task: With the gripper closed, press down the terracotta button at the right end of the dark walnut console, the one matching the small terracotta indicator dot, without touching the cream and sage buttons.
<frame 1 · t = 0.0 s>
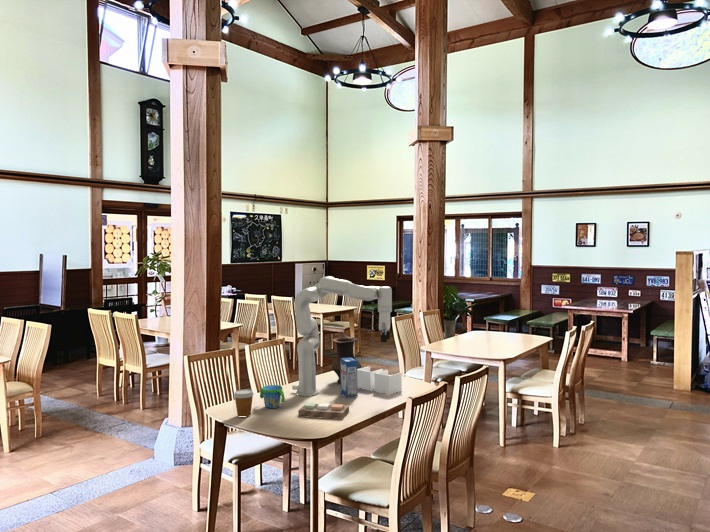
hand: (385, 340, 296), 31 cm above the table, tool pointing down, fingers open, 9 cm apart
cream button: (324, 407, 268), point 3 cm above the table, slide at 0.0 cm
jug: (346, 382, 333), on the table
sage button: (310, 406, 270), point 3 cm above the table, slide at 0.0 cm
terracotta button: (337, 408, 267), point 3 cm above the table, slide at 0.0 cm
storage container: (378, 390, 314), on the table
disposable coffee cup: (244, 416, 267), on the table
console: (324, 413, 268), on the table
snack cup: (272, 407, 282), on the table
milk carton: (349, 395, 302), on the table
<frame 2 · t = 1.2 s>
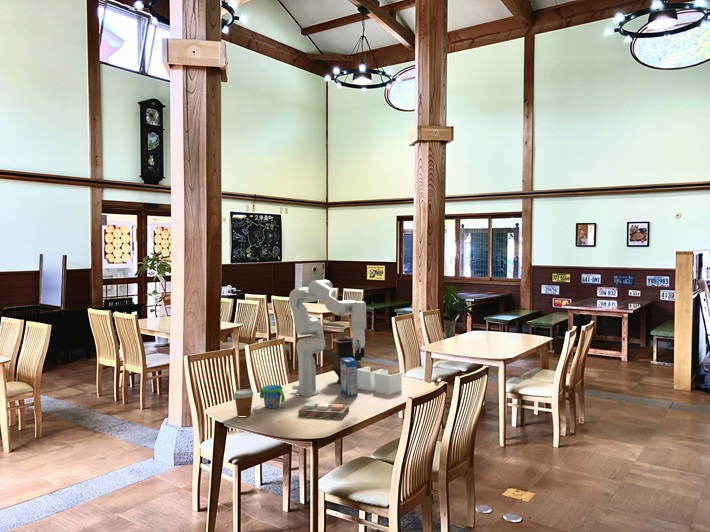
hand: (359, 358, 279), 25 cm above the table, tool pointing down, fingers open, 9 cm apart
nothing on the table moved.
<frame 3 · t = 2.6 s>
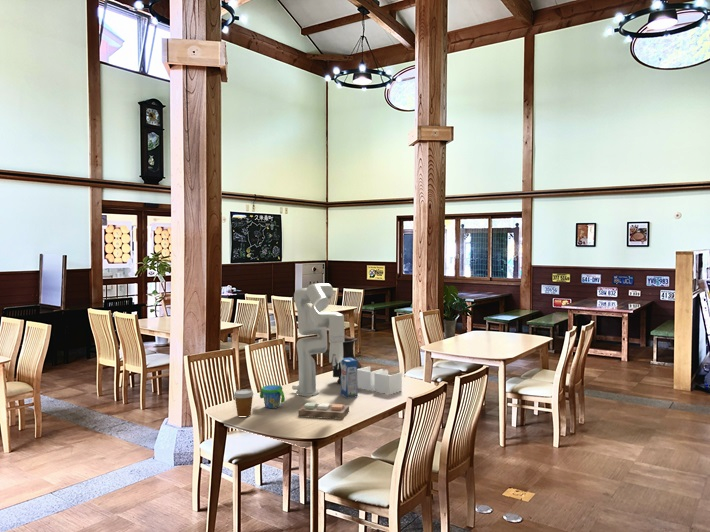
hand: (337, 375, 266), 19 cm above the table, tool pointing down, fingers closed
nothing on the table moved.
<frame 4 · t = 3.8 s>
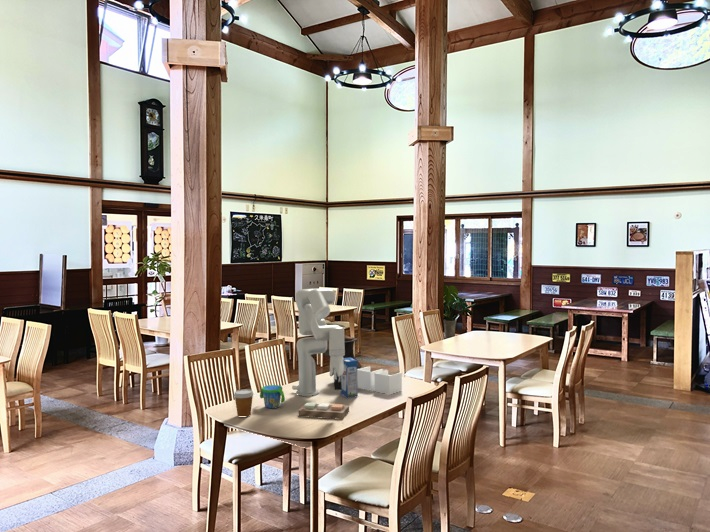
hand: (337, 389, 266), 13 cm above the table, tool pointing down, fingers closed
nothing on the table moved.
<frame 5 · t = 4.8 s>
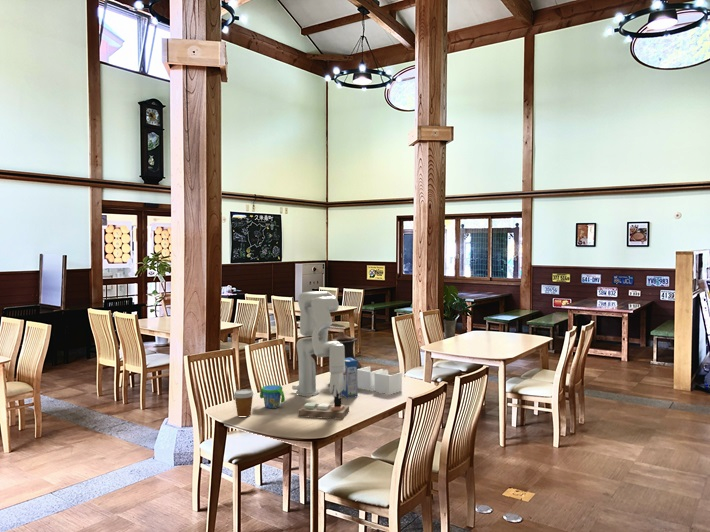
hand: (337, 406, 266), 4 cm above the table, tool pointing down, fingers closed
terracotta button: (337, 408, 267), point 3 cm above the table, slide at 0.2 cm, touching gripper
everything else where it was.
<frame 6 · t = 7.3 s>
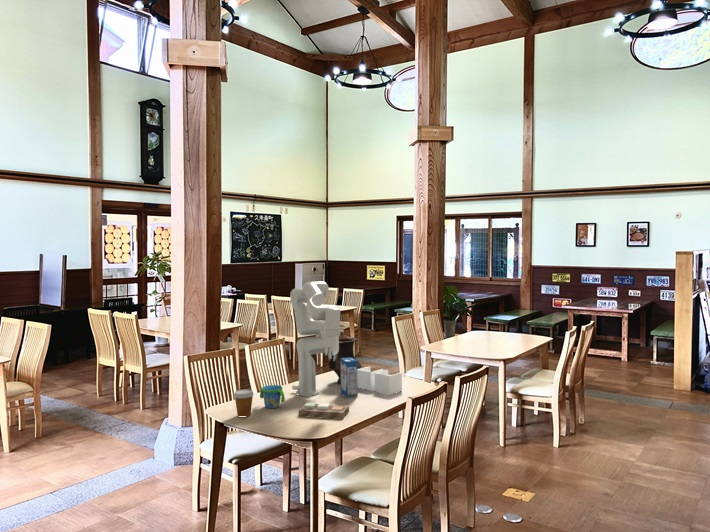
hand: (332, 368, 273), 22 cm above the table, tool pointing down, fingers closed
terracotta button: (337, 410, 267), point 2 cm above the table, slide at 1.2 cm
everything else where it was.
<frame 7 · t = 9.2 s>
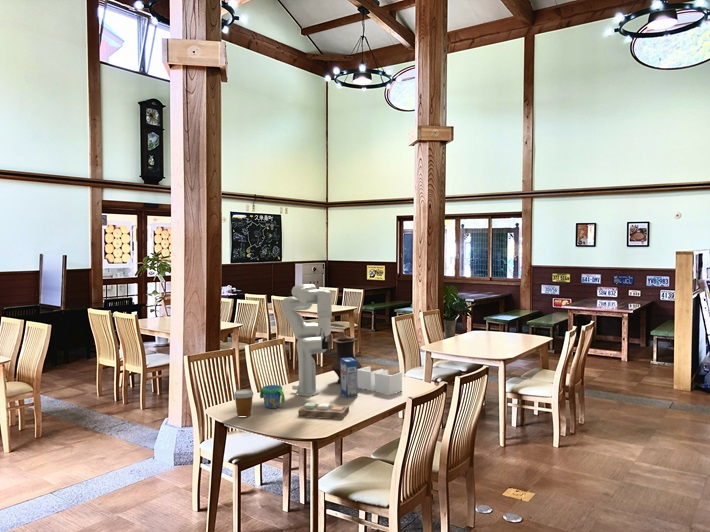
hand: (325, 348, 285), 29 cm above the table, tool pointing down, fingers closed
nothing on the table moved.
at the end: terracotta button slide at 1.2 cm; sage button slide at 0.0 cm; cream button slide at 0.0 cm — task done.
